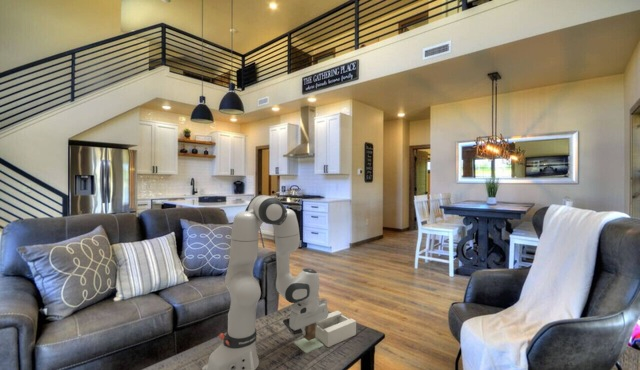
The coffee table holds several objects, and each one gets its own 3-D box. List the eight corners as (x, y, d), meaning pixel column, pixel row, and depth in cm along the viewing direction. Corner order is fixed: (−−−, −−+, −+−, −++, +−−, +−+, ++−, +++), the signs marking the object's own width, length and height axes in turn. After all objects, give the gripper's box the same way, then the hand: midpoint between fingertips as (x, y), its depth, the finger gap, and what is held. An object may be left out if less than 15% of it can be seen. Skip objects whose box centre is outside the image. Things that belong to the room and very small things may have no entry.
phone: (295, 316, 166) (307, 329, 153) (295, 318, 166) (307, 332, 153) (282, 319, 162) (293, 333, 149) (282, 322, 163) (293, 335, 149)
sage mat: (306, 353, 134) (306, 352, 134) (293, 343, 142) (293, 342, 142) (323, 345, 140) (323, 344, 140) (310, 336, 148) (310, 335, 148)
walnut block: (308, 340, 138) (308, 325, 138) (303, 337, 141) (303, 322, 141) (315, 337, 141) (315, 323, 140) (310, 334, 144) (310, 319, 144)
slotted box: (328, 347, 139) (328, 332, 139) (310, 334, 150) (310, 320, 150) (355, 334, 150) (356, 321, 150) (337, 323, 161) (337, 310, 161)
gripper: (322, 295, 149) (322, 323, 150) (287, 307, 137) (287, 336, 137) (331, 300, 144) (330, 328, 145) (295, 312, 132) (295, 343, 132)
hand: (309, 332), depth 141 cm, fingers closed on walnut block, 4 cm apart
